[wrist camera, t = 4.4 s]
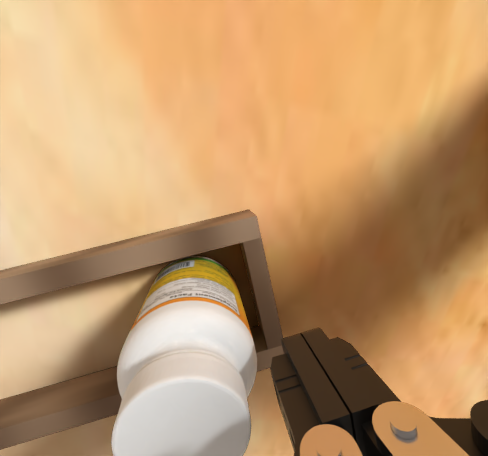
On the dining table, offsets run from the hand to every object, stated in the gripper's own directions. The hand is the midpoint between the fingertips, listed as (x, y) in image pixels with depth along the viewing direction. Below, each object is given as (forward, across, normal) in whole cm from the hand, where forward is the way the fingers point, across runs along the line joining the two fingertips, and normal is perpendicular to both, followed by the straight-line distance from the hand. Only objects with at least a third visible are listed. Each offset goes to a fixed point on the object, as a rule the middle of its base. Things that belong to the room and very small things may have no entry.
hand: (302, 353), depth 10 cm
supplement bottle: (+8, +4, 0) cm, 9 cm away
